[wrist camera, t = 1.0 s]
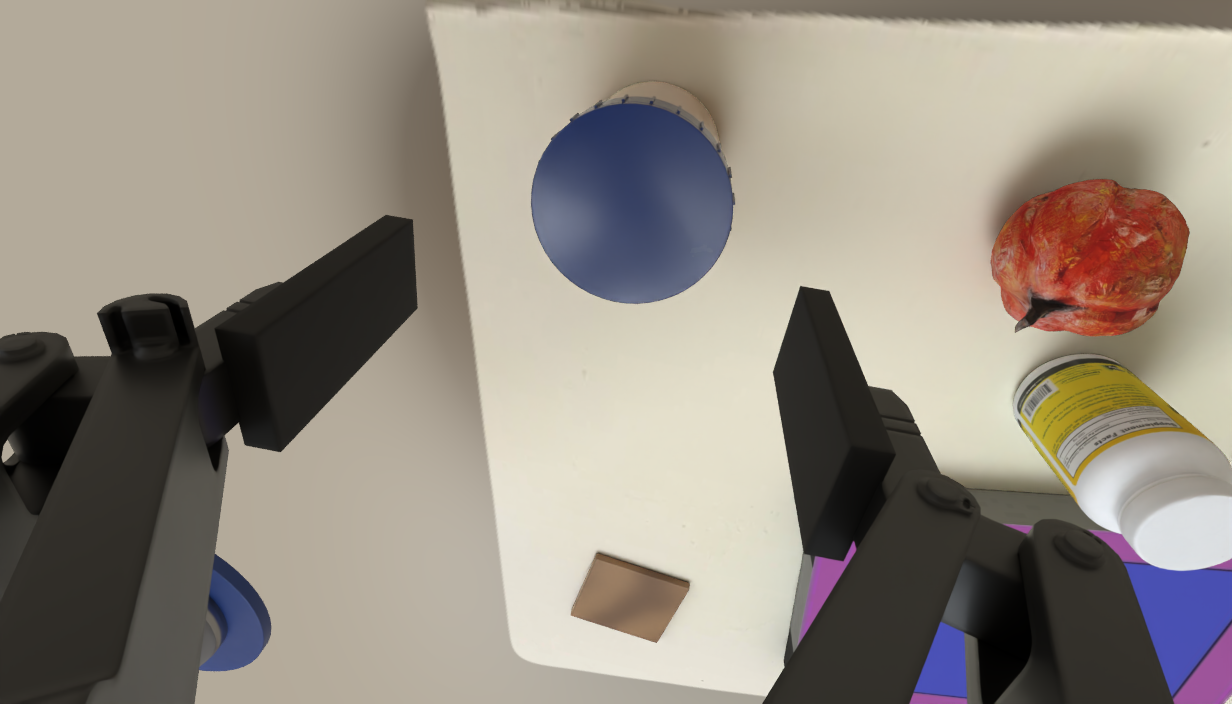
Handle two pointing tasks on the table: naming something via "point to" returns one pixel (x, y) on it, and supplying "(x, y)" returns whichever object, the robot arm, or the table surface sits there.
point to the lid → (633, 200)
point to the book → (1169, 599)
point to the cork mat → (628, 598)
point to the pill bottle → (1130, 460)
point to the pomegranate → (1089, 258)
